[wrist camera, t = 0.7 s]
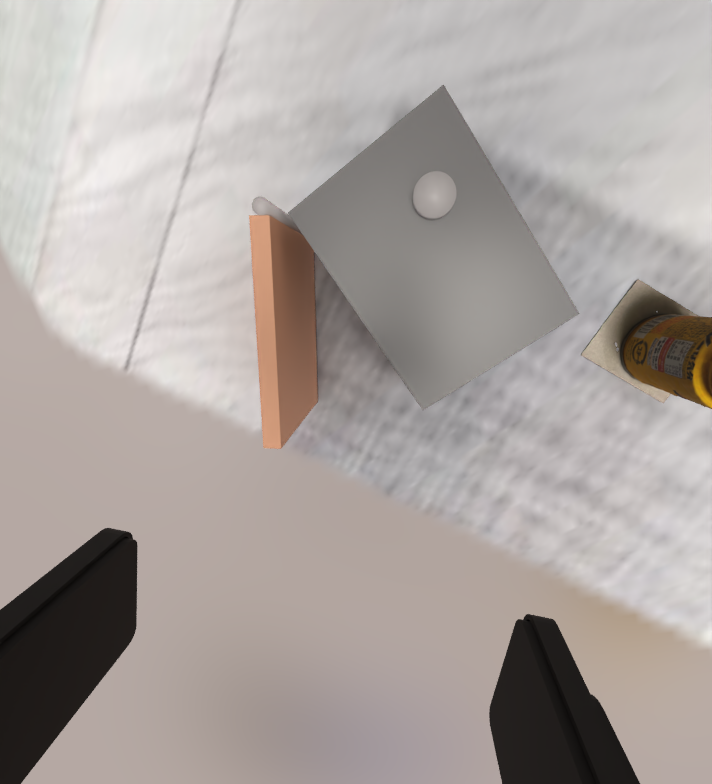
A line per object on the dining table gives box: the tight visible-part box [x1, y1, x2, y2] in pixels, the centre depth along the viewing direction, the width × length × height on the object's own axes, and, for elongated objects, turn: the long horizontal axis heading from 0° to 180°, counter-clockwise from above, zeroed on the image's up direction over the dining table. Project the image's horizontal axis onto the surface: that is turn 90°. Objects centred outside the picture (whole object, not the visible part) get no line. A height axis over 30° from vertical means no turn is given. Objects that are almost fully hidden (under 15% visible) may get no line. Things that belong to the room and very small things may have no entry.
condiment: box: [581, 280, 712, 409], centre depth 28 cm, size 7×8×12 cm
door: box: [249, 197, 318, 449], centre depth 30 cm, size 2×15×12 cm, turn 0°
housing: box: [288, 85, 579, 410], centre depth 29 cm, size 11×15×12 cm
